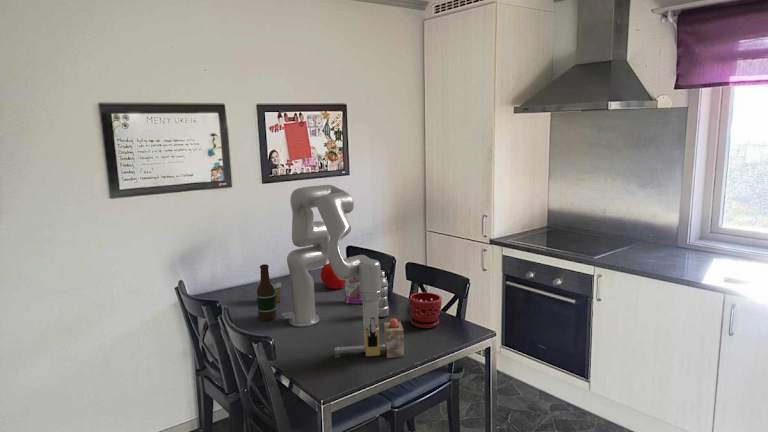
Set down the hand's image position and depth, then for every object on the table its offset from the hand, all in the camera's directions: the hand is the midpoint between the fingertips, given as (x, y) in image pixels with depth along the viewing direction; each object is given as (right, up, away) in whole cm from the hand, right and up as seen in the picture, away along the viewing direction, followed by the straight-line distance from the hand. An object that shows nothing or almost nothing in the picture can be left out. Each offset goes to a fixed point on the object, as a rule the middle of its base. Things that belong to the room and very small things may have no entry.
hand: (371, 342), depth 182 cm
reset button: (+8, +4, 0) cm, 9 cm away
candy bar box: (-8, +5, +54) cm, 55 cm away
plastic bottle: (+3, +2, +37) cm, 37 cm away
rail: (-4, -5, 0) cm, 6 cm away
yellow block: (0, -4, +1) cm, 4 cm away
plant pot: (+22, +1, +27) cm, 35 cm away
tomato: (-21, +9, +78) cm, 81 cm away
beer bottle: (-46, +1, +37) cm, 59 cm away
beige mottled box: (+8, -4, +2) cm, 9 cm away
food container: (-50, +4, +57) cm, 76 cm away
